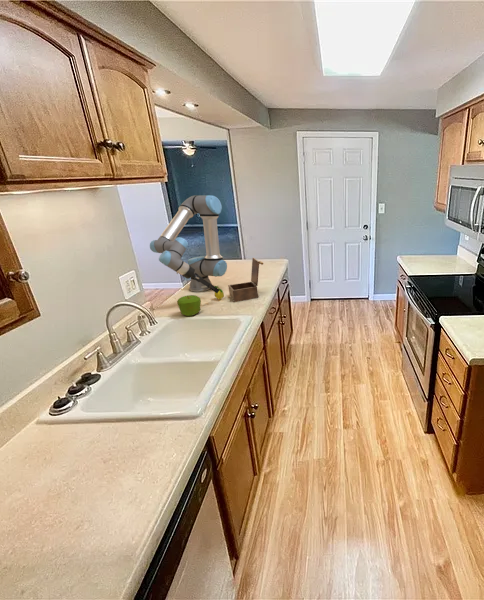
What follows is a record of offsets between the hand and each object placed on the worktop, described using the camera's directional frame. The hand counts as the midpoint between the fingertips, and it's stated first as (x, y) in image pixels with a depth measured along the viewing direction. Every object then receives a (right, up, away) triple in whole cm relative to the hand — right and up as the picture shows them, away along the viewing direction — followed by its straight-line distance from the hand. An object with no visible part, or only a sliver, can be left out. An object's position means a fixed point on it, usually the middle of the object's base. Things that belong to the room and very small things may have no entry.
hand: (214, 288), depth 212 cm
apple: (-6, -16, -19) cm, 25 cm away
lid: (+24, +12, +7) cm, 27 cm away
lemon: (+2, -7, +4) cm, 8 cm away
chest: (+16, -5, +9) cm, 19 cm away
